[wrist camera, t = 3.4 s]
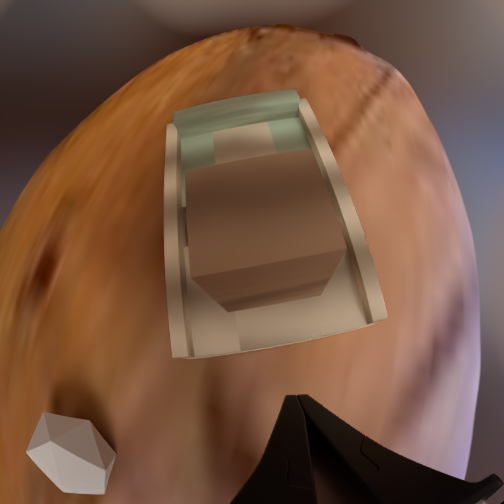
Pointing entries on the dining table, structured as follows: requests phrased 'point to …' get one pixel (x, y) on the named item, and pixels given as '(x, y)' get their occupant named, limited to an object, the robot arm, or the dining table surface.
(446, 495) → the robot arm
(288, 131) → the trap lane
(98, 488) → the die
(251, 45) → the dining table surface
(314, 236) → the walnut block
